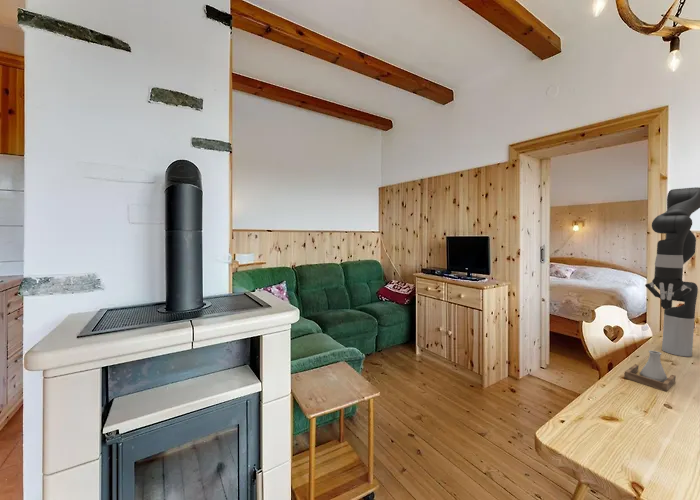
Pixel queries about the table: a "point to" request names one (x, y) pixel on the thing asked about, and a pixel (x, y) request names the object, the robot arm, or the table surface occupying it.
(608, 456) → the table surface
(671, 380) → the corral
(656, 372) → the flask
